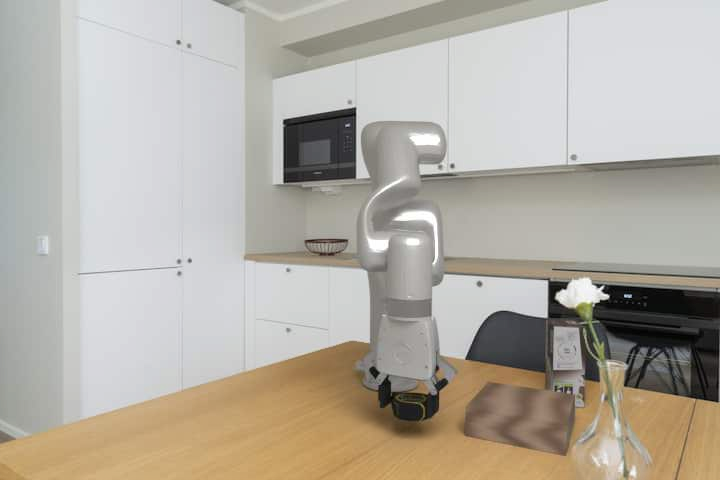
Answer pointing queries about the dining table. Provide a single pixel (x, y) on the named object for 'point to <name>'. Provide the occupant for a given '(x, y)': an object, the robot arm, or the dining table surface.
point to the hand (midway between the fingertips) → (407, 409)
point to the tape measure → (409, 406)
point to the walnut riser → (522, 417)
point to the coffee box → (565, 358)
